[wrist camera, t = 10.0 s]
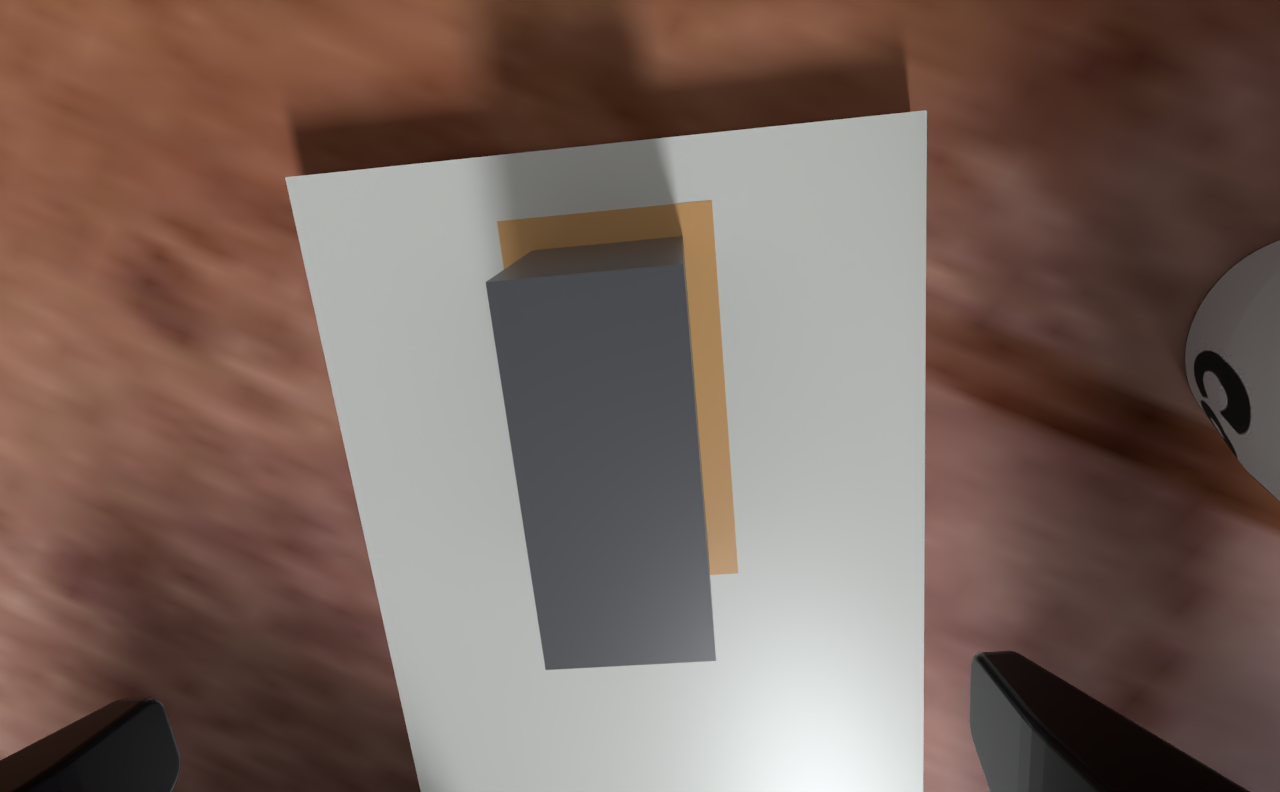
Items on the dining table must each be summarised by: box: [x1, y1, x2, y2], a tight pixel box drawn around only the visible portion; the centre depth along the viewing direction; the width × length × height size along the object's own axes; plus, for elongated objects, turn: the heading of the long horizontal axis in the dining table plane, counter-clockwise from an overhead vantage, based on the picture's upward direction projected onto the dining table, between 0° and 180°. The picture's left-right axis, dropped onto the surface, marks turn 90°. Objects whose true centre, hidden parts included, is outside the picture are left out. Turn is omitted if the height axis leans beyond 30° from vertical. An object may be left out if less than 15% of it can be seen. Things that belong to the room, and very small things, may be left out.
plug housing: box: [486, 236, 716, 670], centre depth 17 cm, size 8×3×4 cm, turn 6°
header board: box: [285, 110, 927, 792], centre depth 20 cm, size 22×14×4 cm, turn 6°
